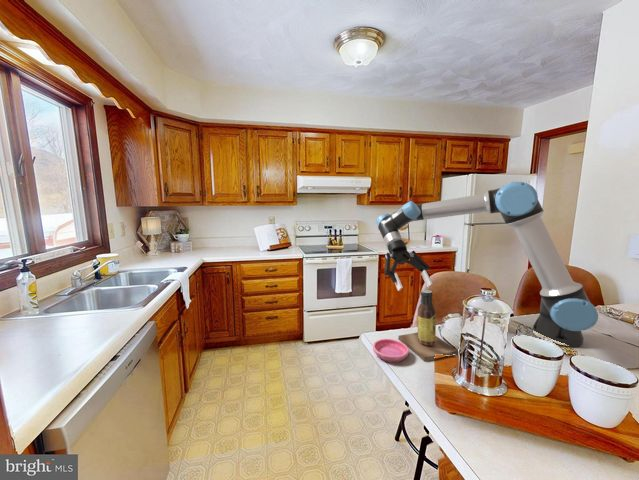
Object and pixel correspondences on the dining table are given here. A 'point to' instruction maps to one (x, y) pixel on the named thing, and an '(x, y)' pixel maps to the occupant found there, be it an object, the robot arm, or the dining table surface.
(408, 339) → the walnut serving board
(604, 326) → the dining table surface
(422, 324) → the sauce bottle
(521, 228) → the robot arm
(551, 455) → the dining table surface
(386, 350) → the saucer
